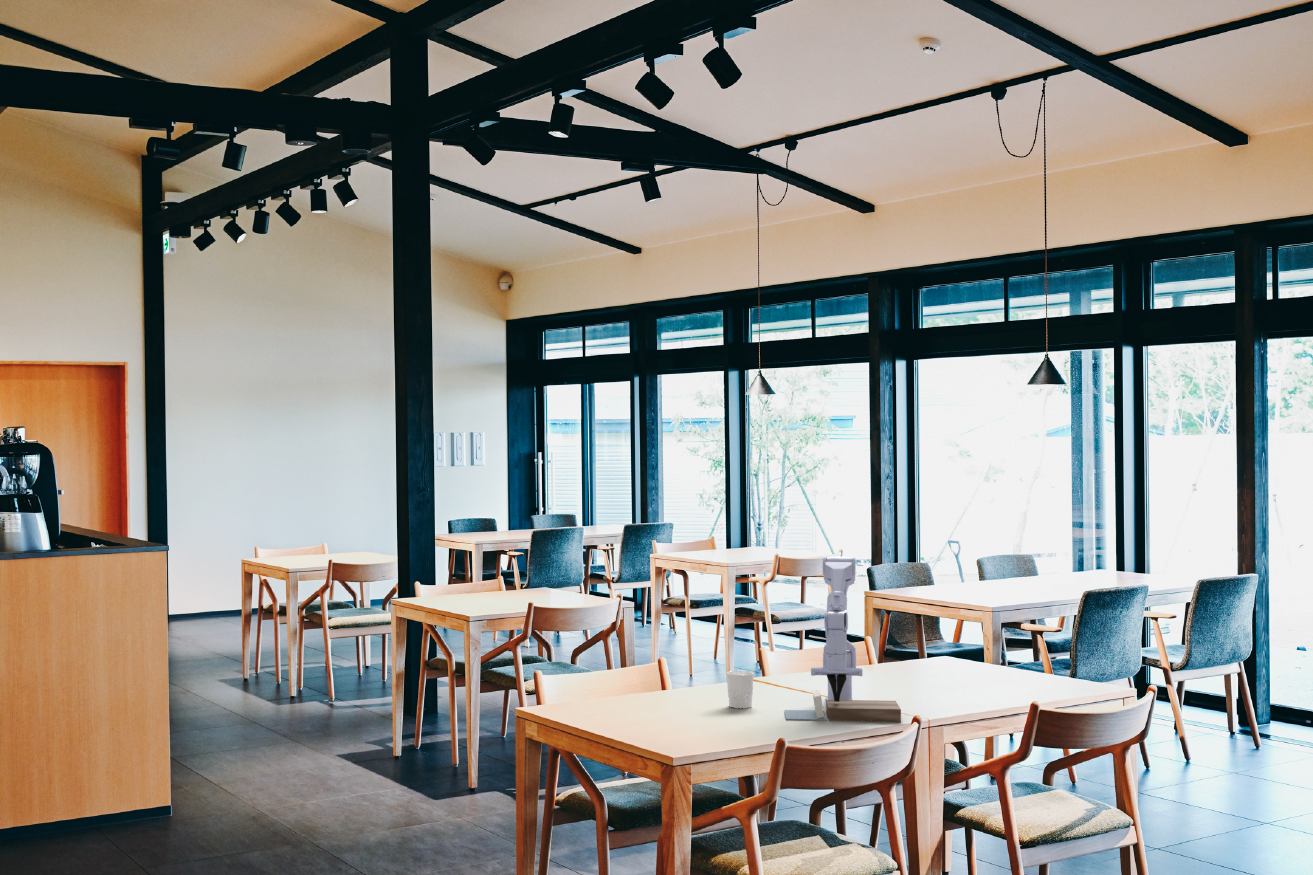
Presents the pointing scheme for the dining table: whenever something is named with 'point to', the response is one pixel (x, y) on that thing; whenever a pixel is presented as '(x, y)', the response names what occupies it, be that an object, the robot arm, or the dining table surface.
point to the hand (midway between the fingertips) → (836, 700)
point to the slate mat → (803, 715)
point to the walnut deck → (863, 710)
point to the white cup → (740, 688)
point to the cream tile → (818, 704)
